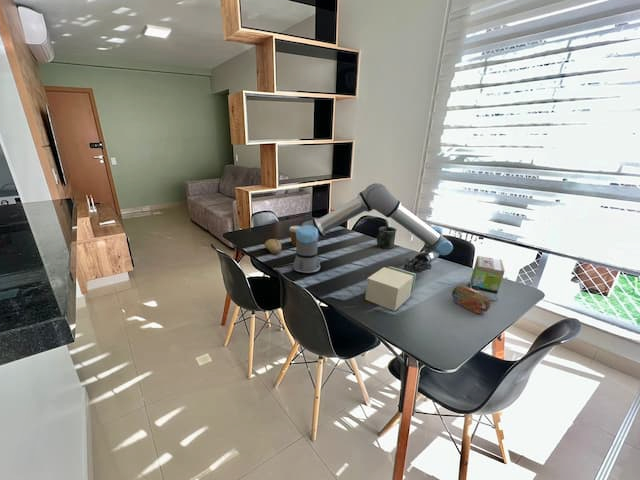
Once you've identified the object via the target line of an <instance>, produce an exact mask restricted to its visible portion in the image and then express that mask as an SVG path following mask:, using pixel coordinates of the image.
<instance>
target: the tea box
mask: <svg viewBox="0 0 640 480" xmlns="http://www.w3.org/2000/svg"><path fill="white" fill-rule="evenodd" d="M504 275H505V267H504V263H503V260H502V259H499V258H493V257H488V256H480V255H477V256H476V259H475V263H474V266H473V271H472V273H471V278H470V282H469V288H471V289H474V290H476V291H478V292H481V293H483V294H485V295H486V296H487V297H488V298H489V300H490V301H496V299H497V296H498V293H499V290H500V288H501V284H502V281H503V278H504Z"/></svg>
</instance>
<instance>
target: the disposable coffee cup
mask: <svg viewBox="0 0 640 480" xmlns="http://www.w3.org/2000/svg"><path fill="white" fill-rule="evenodd" d="M300 226H301V225H292V226H290V227H289V229H288V230H289V234H290V235H289V236H290V241H291V245H292V246H295V247H296V232H297V229H298V228H299V227H300Z"/></svg>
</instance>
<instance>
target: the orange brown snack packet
mask: <svg viewBox="0 0 640 480" xmlns="http://www.w3.org/2000/svg"><path fill="white" fill-rule="evenodd" d="M451 294H452V295H451V296H452V299H453V301H454V302H455V303H456V304H457V305H459V306H461V307H463V308H465V309H467V310H469V311H471V312H473V313H475V314H483V313H487V312H488V311H489V310H490V309H491V305H492V302H491V300H490V299H489V298H488V297H487V296H486V295H485V294H483V293H481V292H478V291H476V290H474V289H471V288H470V286H468V285H458V286H455V287H454V288H453V289H452V293H451Z"/></svg>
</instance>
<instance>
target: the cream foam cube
mask: <svg viewBox="0 0 640 480" xmlns="http://www.w3.org/2000/svg"><path fill="white" fill-rule="evenodd" d="M412 282H413V276H412V275H409V274H406V273H402V272H399V271H395V270H392V269H389V267H385V266H384V267H382V268H380V269H379V270H378V271H376V272H374V273H372V274H371V275H370V276H368V277H367V279H366V285H365V286H366V288H365V289H366V290H365V295H364V300H366V301H368V302H370V303H373V304H375V305H378V306H381V307H384V308H386V309H388V310H391V311H393V312H396V311H397V310H398V309H399V308H400V307H401V306H402V305H403V304H404V303H405V302H406V301H407V300H409V299H410V298H411V293H412V292H411V288H412Z"/></svg>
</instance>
